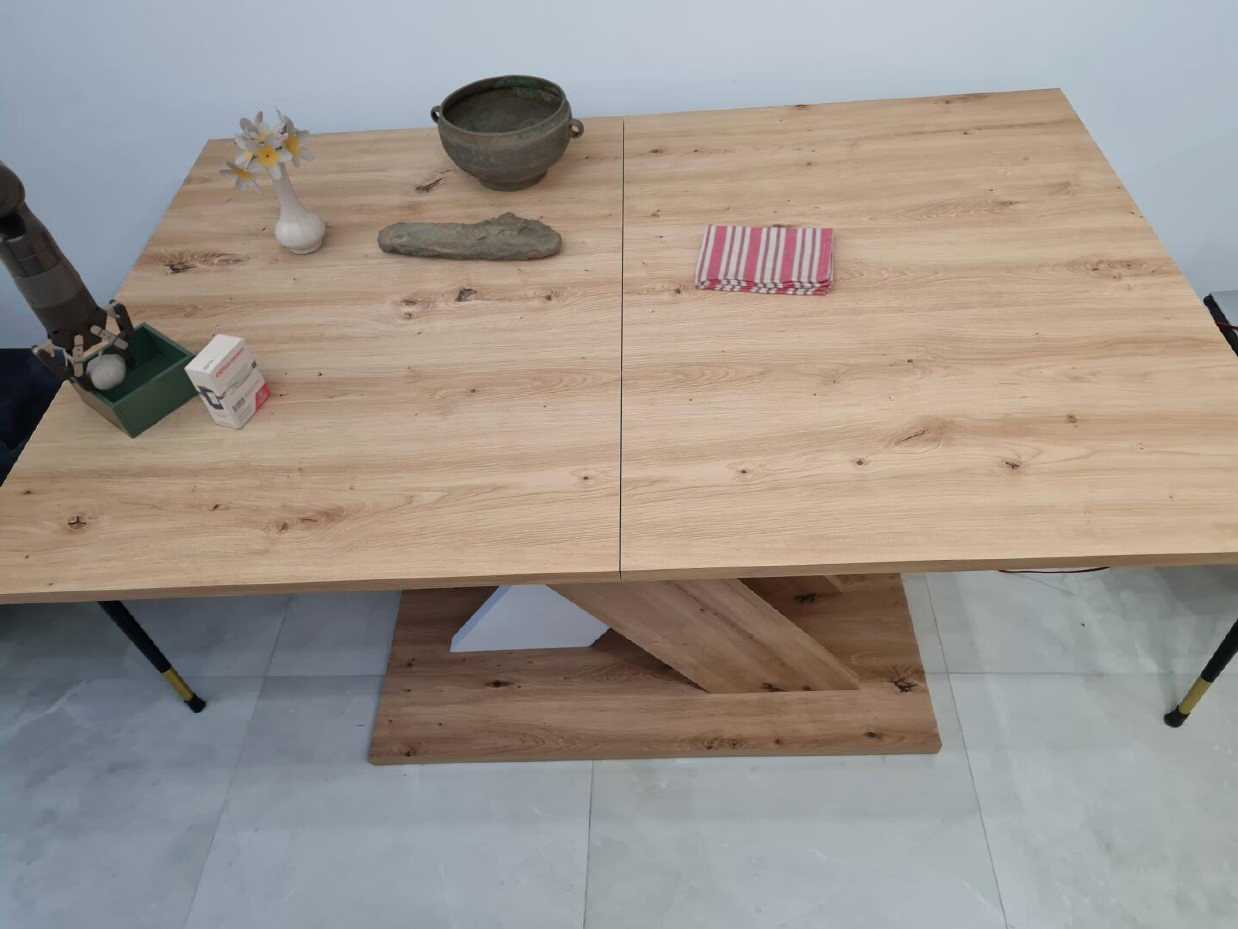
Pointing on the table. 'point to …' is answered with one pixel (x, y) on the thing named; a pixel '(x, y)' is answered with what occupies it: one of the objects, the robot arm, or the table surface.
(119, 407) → the green tapered tray
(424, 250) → the elongated rock
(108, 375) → the garlic
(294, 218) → the flower vase
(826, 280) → the dish towel
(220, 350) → the ink box
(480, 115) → the bowl
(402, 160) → the table surface
